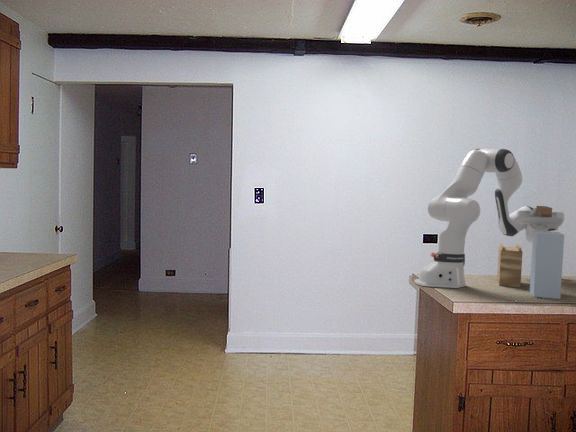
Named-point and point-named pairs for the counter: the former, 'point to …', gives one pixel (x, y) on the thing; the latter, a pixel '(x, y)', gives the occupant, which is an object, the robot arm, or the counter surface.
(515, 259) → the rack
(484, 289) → the counter surface
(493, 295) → the counter surface
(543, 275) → the stand
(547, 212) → the walnut bar
